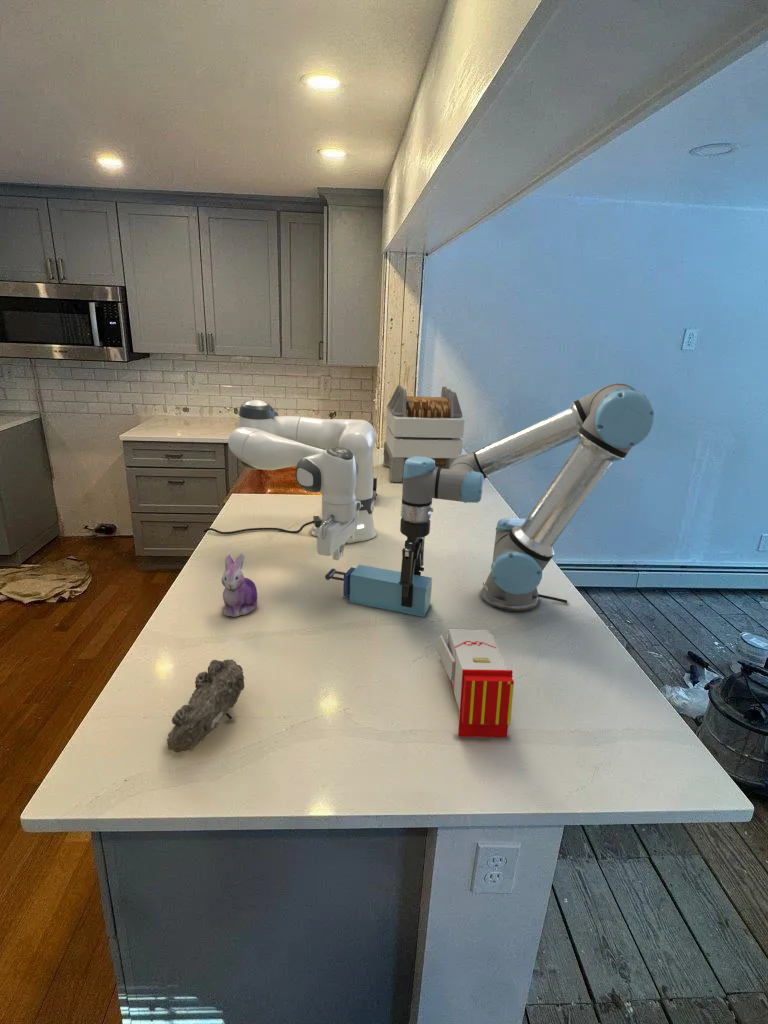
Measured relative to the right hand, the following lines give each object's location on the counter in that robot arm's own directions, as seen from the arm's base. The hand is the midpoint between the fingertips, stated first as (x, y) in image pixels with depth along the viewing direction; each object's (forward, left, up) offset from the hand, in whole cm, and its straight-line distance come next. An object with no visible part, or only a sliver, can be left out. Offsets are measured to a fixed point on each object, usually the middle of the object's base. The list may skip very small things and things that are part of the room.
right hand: (410, 599), depth 150 cm
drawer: (+10, -5, -2) cm, 11 cm away
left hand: (+18, -10, +8) cm, 22 cm away
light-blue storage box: (+5, -3, -2) cm, 6 cm away
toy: (-5, +36, -2) cm, 36 cm away
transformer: (-32, -128, -2) cm, 132 cm away
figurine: (+44, -3, -2) cm, 44 cm away
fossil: (+46, +38, -2) cm, 60 cm away
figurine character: (-1, -90, -2) cm, 90 cm away
